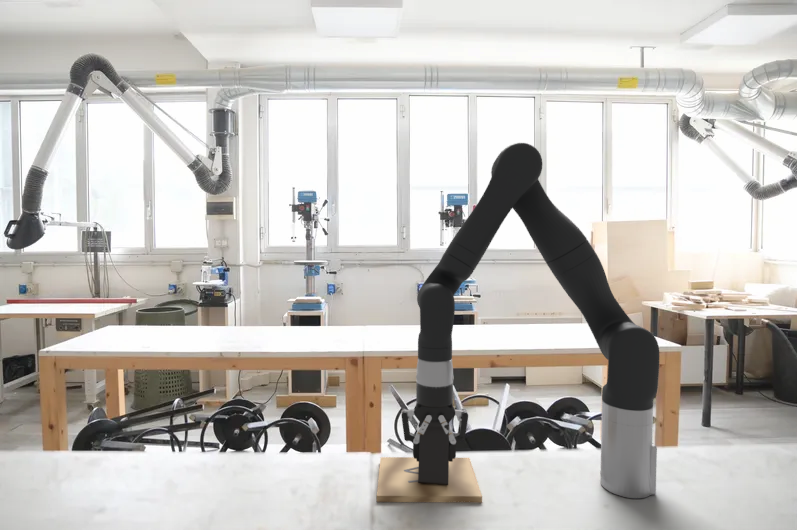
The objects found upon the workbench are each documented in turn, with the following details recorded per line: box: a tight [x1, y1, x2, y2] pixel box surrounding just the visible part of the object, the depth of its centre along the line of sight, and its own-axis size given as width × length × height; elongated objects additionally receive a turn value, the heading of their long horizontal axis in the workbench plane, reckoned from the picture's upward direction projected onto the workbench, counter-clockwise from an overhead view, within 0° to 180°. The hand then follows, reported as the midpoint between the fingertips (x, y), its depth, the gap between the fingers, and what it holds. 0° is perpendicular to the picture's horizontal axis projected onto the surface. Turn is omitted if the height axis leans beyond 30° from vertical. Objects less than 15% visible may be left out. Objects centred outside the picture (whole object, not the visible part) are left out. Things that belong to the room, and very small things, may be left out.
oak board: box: [376, 456, 483, 504], centre depth 95 cm, size 20×16×1 cm
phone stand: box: [418, 419, 450, 485], centre depth 95 cm, size 9×6×12 cm, turn 173°
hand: (434, 459), depth 95 cm, fingers closed on phone stand, 6 cm apart
